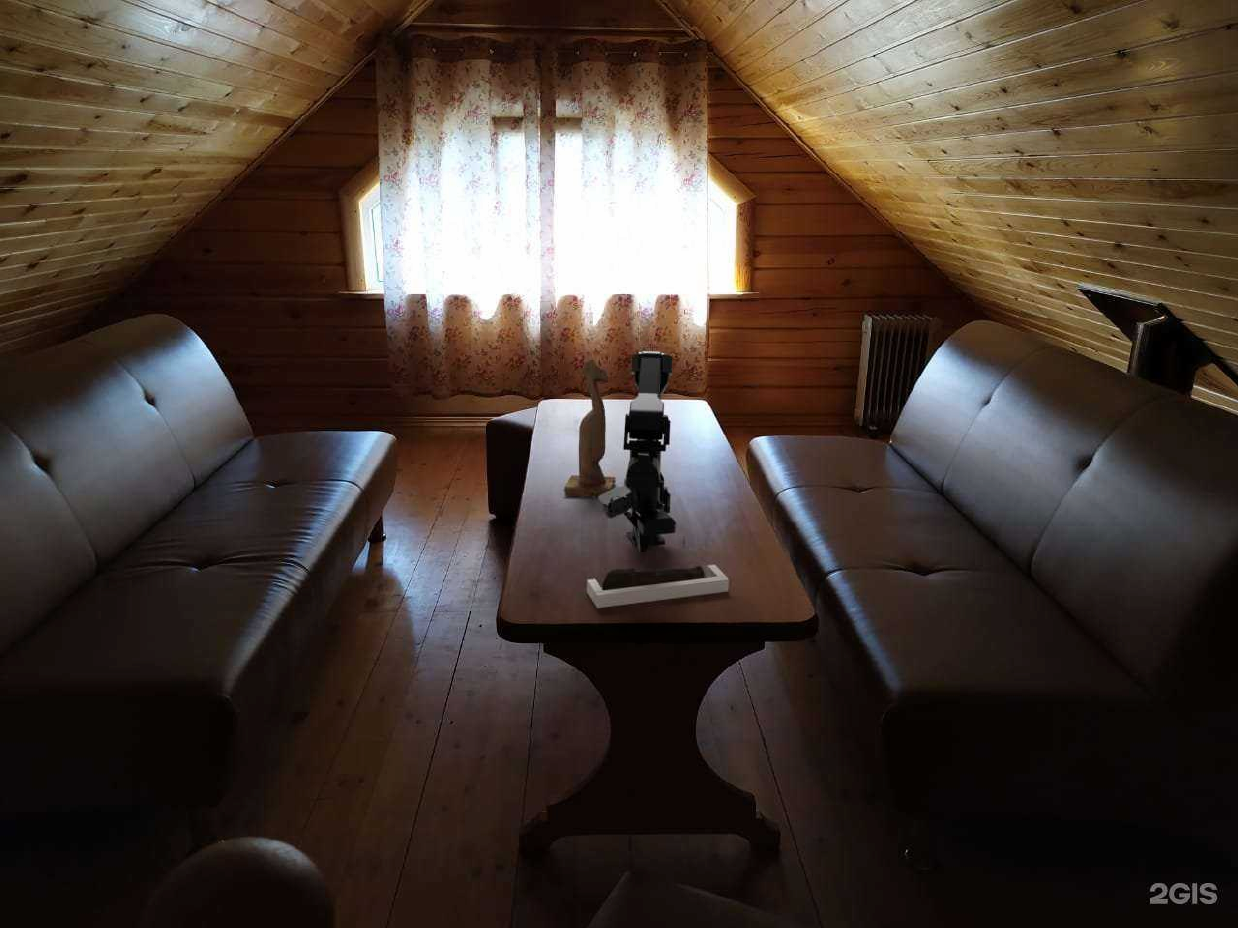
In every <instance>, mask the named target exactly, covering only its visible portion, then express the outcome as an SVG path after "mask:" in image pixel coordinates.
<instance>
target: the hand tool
mask: <svg viewBox="0 0 1238 928" xmlns="http://www.w3.org/2000/svg"><path fill="white" fill-rule="evenodd" d="M705 574H706V573H705V570H704V568H703V566H702V565H701V566H699V565H698V566H695V567H690V568H683V567H682V568H669V569H667V570H666V569H665V570H653V571H651V570H650V571H643V570H641V571H637V570H636V569H635V568H631V567H629V568H617V569H612V570H611V571H609V572H608V573H607V574H606V576H605V578H604V579H603V582H602V587H601V588H602V590H603V591H604V590H612V589H621V588H629V587H637V586H645V585H653V584H661V583H669V582H677V581H686V580H694V579H702V578H706V575H705Z"/></svg>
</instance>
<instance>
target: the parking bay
mask: <svg viewBox="0 0 1238 928" xmlns="http://www.w3.org/2000/svg"><path fill="white" fill-rule="evenodd" d="M706 567H707V568H706V577H705V578H702V579H694V580H686V581H677V582H669V583H661V584H653V585H645V586H637V587H629V588H621V589H612V590H604V591H603V589H602V587H601V585H600V584H599V582H598V581H597V580H596V579H597V578H591V579H589V578H588V579H587V580H586V593H587V594H588V596H589V597H590V600H591V601H592V603H593V604H594V606H595V607H596V609H602V608H603V609H604V608H609V607H618V606H624V605H625V606H626V605H633V604H640V603H641V604H642V603H649V602H657V601H663V600H664V601H665V600H671V599H673V600H674V599H680V598H688V597H695V596H702V595H710V594H718V593H726V592H729V585H730V584H729V582H730V581H729V579H730V578H728V577H727V575H726V574H725V573H723V572H722V570H721V569H720V568H719V567H718V566H717V565H716V564H709V565H706Z"/></svg>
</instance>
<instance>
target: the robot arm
mask: <svg viewBox="0 0 1238 928" xmlns="http://www.w3.org/2000/svg"><path fill="white" fill-rule="evenodd" d="M673 360H674V356H672V355H669V354H668V353H667V352H666V353H665V352H662V351H661V350H659V351H657V350H642V351H639V352H637V353H635V354H631V362H630V363H631V366H630V367H631V368H630V374H631V375H632V376H634V384H635V387H636V388H637V396H636V398H634V399H632V400H631V401H630V405H629V412H628V413H626V412H625V417H624V435H623V447H622V448H623V449H622V450H624V451H629V461H628V464H627V469H626V473H625V474H626V475H625V478H624V483H623V485H622V486H618V487H615V488H613V489H612V488H611V490H610V491H608V492H606V493H603V494H601V495H599V496H598V498H597V499H598V501H599V505H600V507H601V511H602V513H603V514H605V516H606V517H607V518H608V519H613V518H616V517H617V516H620V515H624V517H625V518H626V519H627V520H628V521H629V522H630V524H631V526H632V530H631V531H626V535H627V537H628V538H629V539H630V540H631V541H632V543H633V544H634V545H636V546H637V548H638V551H639V552H640V553H641V554H643V553H647V551H648V549H649V547H650V545H653V544H654V545H655V544H664V543H665V542H666V539H665V538H664V537H663V536H662V535H668V534H674V533H676V532H677V530H676V529H677V521H676V520H675V519H674V518H673V517H671V515H670V513H671V496H672V495H671V493H670V492H669V489H668V486H665V478H664V475H663V474H662V472H661V463H662V462H661V461H662V460H661V459H662V452H667V446H670V441H671V420H670V419H669V416H668V414H665V403H664V402H663V401H662V400H661V397H662V396H663V394H664V392H665V391H666V389H667V388H668V386H669V383H670V382H669V381H670V380H669V379H670V377H672V376H673ZM628 438H629V439H628ZM661 440H663V441H661ZM662 442H663V443H662Z"/></svg>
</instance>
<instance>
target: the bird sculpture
mask: <svg viewBox="0 0 1238 928" xmlns="http://www.w3.org/2000/svg"><path fill="white" fill-rule="evenodd" d="M582 373H583V375H584V377H585V380H586V383H587V388H588V390H589V395H590V399H591V408H592V409H591V410H590V411H589V412H588V413H586V415H585V416H584V417H583V418H582V419H581V421H580V424H579V427H578V428H579V431H578V435H579V437H578V475H574V474H571V475H570V476H569V479H568V480H567V483H566V484H565V486H564V487H563V489H564V490H563V492H564V497H566V496H568V498H570V497H571V496H572V497H574V498H578V497H581V498H588V499H589V498H591V499H592V498H594V499H598V496H599V495H601V494H603V493H606V492H608V491H610V490H612V486H613V484H616V480H617V479H616V476H605V474H604V473H603V470H602V467H601V465H600V461H601V460H603V458H604V456H605V453H606V442H607V441H606V431H607V427H606V425H607V424H606V422H607V421H606V409H605V405H604V402H603V398H602V395H601V393H600V392H601V391H600V389H599V386H598V382H603V383H606V384H607V383H608V373H607V372H606V370H604V369H602V368H601V367H599V366H598V365H597V363H596V361H595V359H588V360H586V362H585V363H584V365H583V368H582Z"/></svg>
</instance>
